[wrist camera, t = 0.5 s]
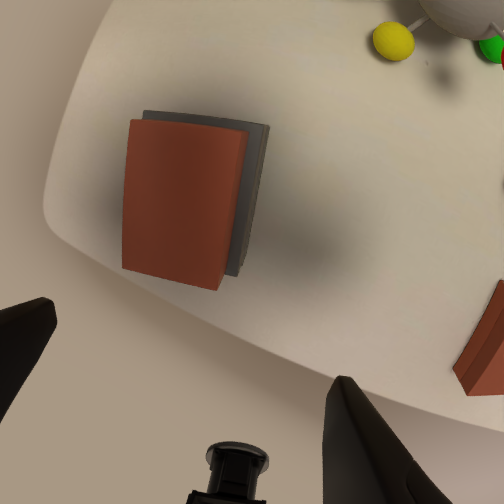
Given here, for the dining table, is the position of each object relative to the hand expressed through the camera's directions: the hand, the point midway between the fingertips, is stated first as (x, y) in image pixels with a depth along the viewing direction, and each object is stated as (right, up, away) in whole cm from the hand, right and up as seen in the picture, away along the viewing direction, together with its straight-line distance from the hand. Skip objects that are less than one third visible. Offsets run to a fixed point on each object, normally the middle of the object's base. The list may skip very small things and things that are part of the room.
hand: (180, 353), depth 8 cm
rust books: (+26, -5, +14) cm, 30 cm away
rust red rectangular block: (-2, +6, +9) cm, 10 cm away
